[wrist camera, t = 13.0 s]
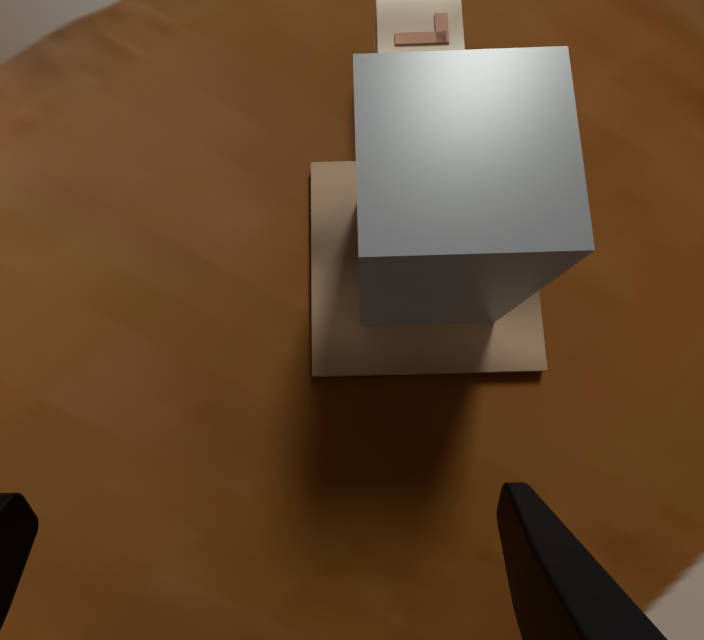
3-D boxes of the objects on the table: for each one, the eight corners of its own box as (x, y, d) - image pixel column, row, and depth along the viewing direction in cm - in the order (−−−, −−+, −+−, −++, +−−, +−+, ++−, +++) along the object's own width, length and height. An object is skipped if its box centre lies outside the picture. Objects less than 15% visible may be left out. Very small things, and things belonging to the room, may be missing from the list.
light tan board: (542, 371, 23) (547, 370, 22) (313, 376, 23) (312, 375, 22) (521, 161, 25) (525, 155, 24) (312, 168, 25) (310, 162, 25)
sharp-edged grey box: (494, 322, 23) (595, 250, 13) (360, 326, 23) (358, 257, 13) (483, 197, 24) (568, 46, 14) (357, 201, 24) (352, 53, 14)
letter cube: (449, 114, 26) (465, 58, 22) (376, 116, 26) (378, 61, 22) (445, 50, 27) (460, -15, 23) (374, 53, 27) (375, -12, 23)
